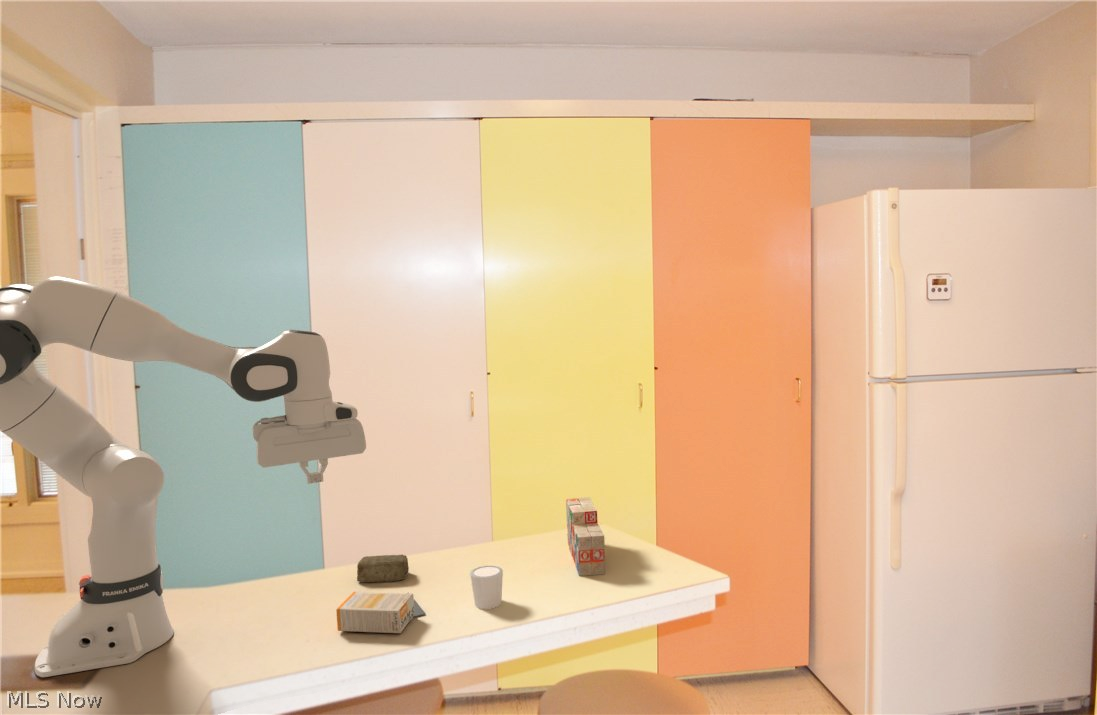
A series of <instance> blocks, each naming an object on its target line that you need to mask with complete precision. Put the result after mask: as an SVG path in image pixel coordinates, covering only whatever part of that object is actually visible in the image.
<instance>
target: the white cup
mask: <svg viewBox="0 0 1097 715" xmlns="http://www.w3.org/2000/svg"><path fill="white" fill-rule="evenodd" d="M503 571H504V570H503V568H501V567H499V566H496V565H482V566H478V567H475V568H474V569H472V570H471V571H470V572H469V575H470V582H471V588H472V594H473V595H472V596H473V601H474V606H475V608H477V609H480V610H491V609H492V608H493V609H495V607H496V608H497V607H500V606H501V604H502V599H503V576H504V572H503ZM493 609H492V610H493Z"/></svg>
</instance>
